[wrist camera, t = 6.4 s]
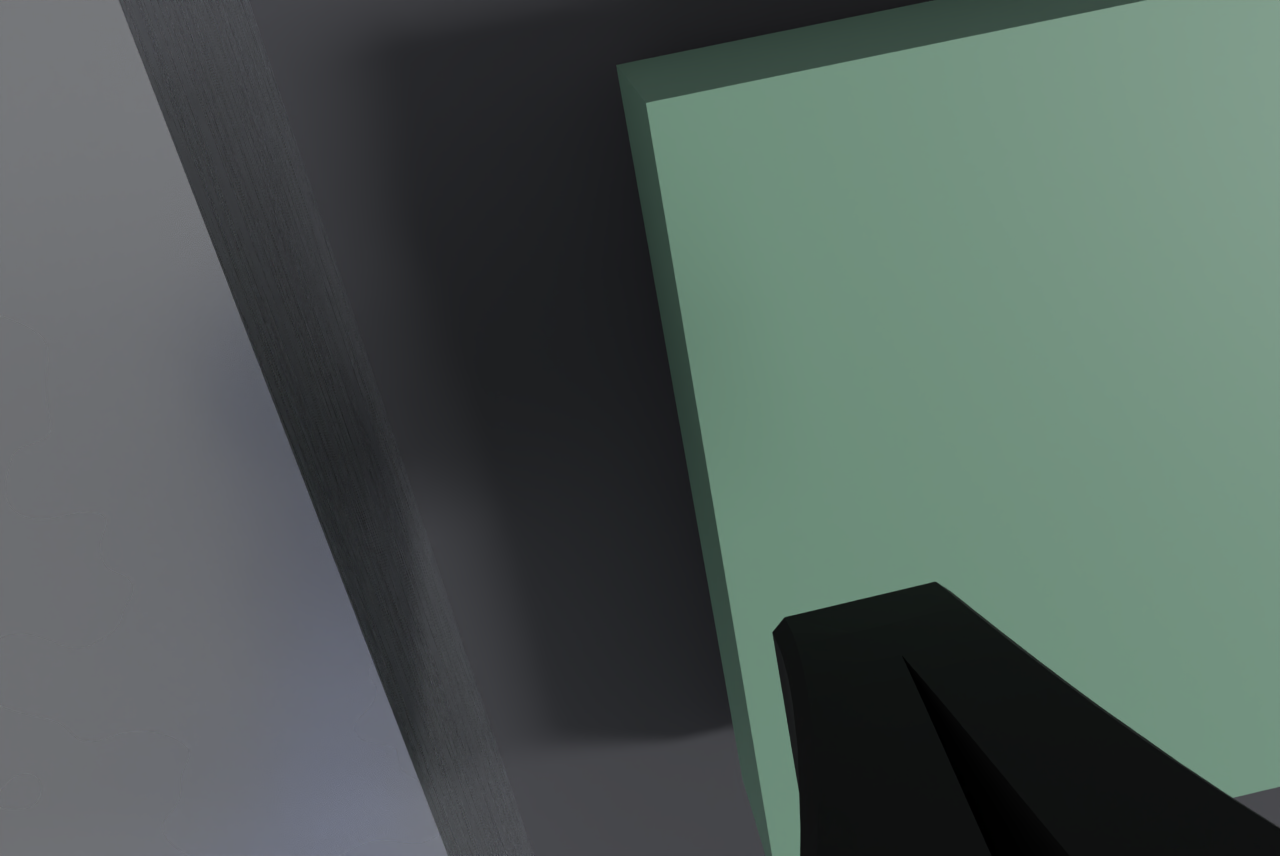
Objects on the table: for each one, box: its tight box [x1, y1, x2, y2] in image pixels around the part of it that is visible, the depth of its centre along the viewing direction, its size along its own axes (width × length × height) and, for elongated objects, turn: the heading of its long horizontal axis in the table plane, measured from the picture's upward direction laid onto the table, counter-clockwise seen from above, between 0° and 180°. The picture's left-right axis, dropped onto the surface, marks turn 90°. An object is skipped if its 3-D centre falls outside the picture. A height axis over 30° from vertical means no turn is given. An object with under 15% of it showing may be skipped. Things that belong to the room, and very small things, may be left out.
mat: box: [249, 0, 1280, 856], centre depth 13 cm, size 20×12×1 cm, turn 11°
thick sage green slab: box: [616, 0, 1280, 856], centre depth 12 cm, size 9×6×3 cm, turn 10°
